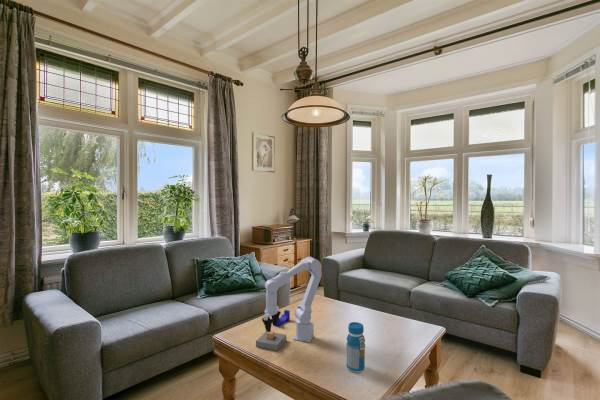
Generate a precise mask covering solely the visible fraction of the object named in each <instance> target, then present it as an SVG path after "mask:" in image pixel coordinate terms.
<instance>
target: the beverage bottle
mask: <svg viewBox="0 0 600 400" xmlns="http://www.w3.org/2000/svg"><path fill="white" fill-rule="evenodd" d="M347 328H348V335H347V337H346V345H345V346H346V369H347V370H348V371H349V372H352V373H356V374H357V373H363V372H364V371H365V362H366V361H365V354H366V351H365V350H366V344H365V342H366V339H365V335H364V324H363V323H361V322H357V321H353V322H349V324H348V327H347Z"/></svg>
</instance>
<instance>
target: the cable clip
mask: <svg viewBox="0 0 600 400" xmlns="http://www.w3.org/2000/svg"><path fill="white" fill-rule="evenodd" d="M290 312H291V311H290V310H288V309H285V310H283V314H280V316H279V318H278V322H277V326H275V328H279V327H280V326H282V325H284V324H285V323H287V322H290V320H291V317H290V315H291V314H290Z"/></svg>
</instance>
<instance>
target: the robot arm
mask: <svg viewBox="0 0 600 400" xmlns="http://www.w3.org/2000/svg"><path fill="white" fill-rule="evenodd" d="M322 267H323V265H322V264H321V262H320V261H319V260H318V259H316V258H314V257H312V256H310V255H309V256H306V257H305V258H303V259H301V261H299V263H297V264H295V265H294V266H293V267H292V268H290V269H289V270H287V271H280V272H279V274H278V275H275V276H274V277H271V278H270V279H268V280H266V282H265V283H264V285H263V286H264V288H265V309H264V315H263V317H262V318H261V321H262V323H263V325H264V328H265V332H270V331H272V326H273V327H276V326H277V322H278V318H280V316H281V315H282V313H281V311H280V306H278V292H279V291H278V290H279V288H281V287H282V286H283V285H285V284H287V283H288V282H290V279H291V277H293V276H295V275H297V274H299V273H301V272H302V271H309V273H310V275H311V276H310V279H309V281H308V284H307V287H306V288H305V292H304V295H303V297H302V300H301V302H300V303H298V306H297V307H296V308H295V309H294V313H293V314H294V316H295V318H296V319H295V335H294V337H293V338H292V339H293V340H295V341H301V342H307V343H310V342H311V341H312V339H314V337H315V333H314V332H315V331H314V330H315V329H314V328H315V327H314V323H313V322H311V319H312V315H311V314H312V312H313V310H312V305H313V301H314V298H315V296H316V293H317V290H318V288H319V284H320V282H321V278H322V277H323V274H322ZM270 317H271V318H270Z"/></svg>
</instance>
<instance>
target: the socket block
mask: <svg viewBox="0 0 600 400" xmlns="http://www.w3.org/2000/svg"><path fill="white" fill-rule="evenodd" d="M286 341H287V334H285V333H278V332H274V340H269V339H267V332H266V331H265V332H264V333H263V334H262V335H261V336H260V337H258V339H256V340H255V347H257V348H261V349H266V350H270V351H276V352H277V351H279V349H280V348H281V347H282V346H283V345H284V343H286Z"/></svg>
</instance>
